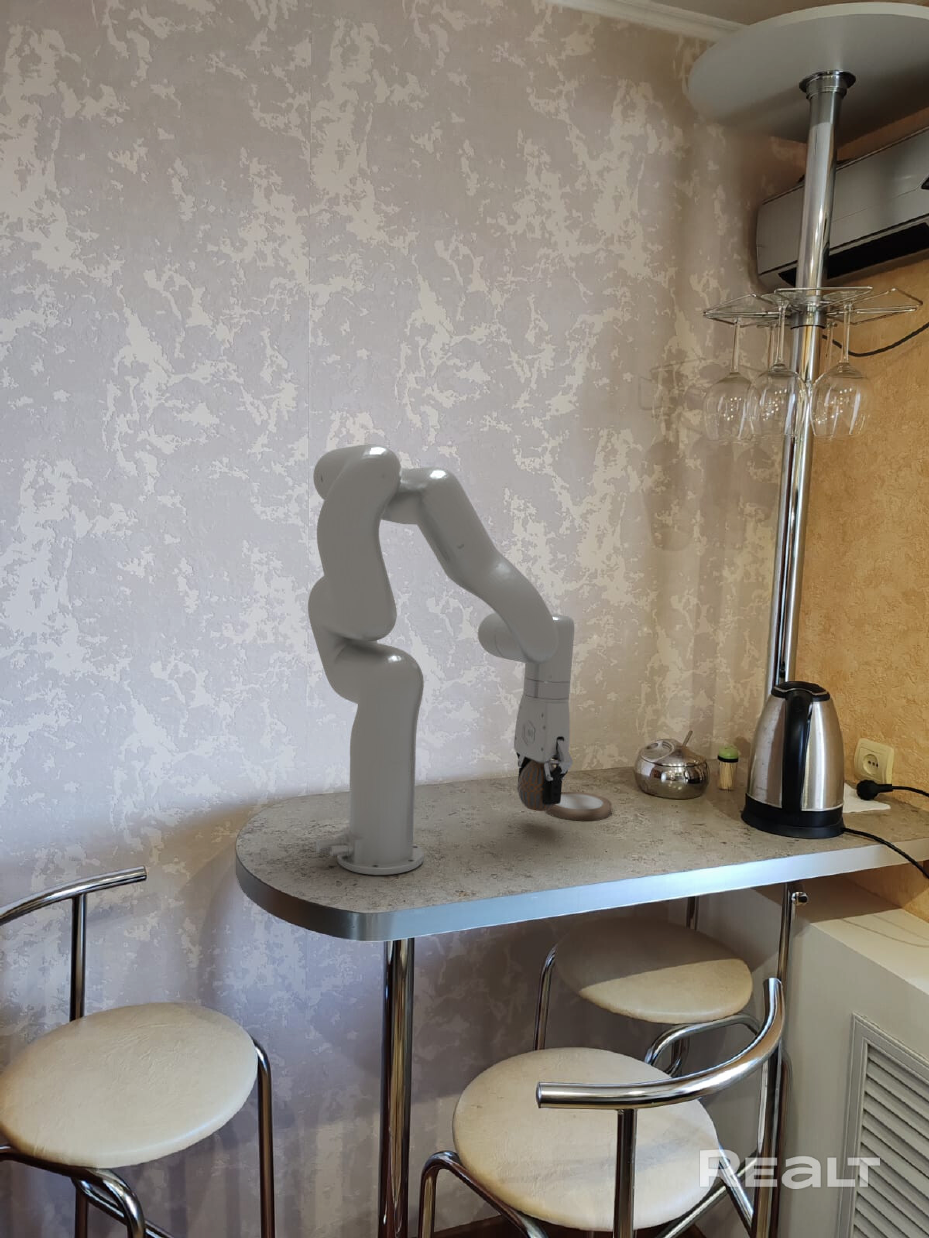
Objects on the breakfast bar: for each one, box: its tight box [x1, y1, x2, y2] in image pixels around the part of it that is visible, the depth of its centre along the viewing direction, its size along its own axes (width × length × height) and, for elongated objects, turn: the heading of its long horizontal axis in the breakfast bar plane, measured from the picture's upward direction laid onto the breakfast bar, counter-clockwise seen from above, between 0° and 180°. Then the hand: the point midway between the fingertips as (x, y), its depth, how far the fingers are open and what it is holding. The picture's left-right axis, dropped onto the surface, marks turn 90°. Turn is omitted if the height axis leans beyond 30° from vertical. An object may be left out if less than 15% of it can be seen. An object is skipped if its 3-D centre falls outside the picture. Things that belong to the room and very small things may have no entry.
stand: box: [545, 791, 613, 822], centre depth 157 cm, size 12×12×2 cm
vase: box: [517, 760, 556, 812], centre depth 146 cm, size 7×7×9 cm
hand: (538, 796), depth 146 cm, fingers closed on vase, 6 cm apart
